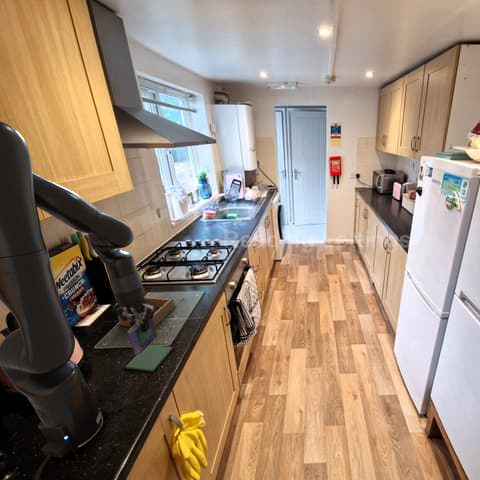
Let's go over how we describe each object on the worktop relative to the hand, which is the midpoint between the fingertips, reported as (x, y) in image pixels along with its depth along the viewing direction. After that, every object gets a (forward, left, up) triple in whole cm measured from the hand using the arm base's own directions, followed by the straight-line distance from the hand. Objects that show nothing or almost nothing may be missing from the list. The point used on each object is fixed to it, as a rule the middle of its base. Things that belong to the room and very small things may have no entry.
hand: (141, 330), depth 87 cm
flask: (0, 0, -6) cm, 6 cm away
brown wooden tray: (+21, +17, -12) cm, 30 cm away
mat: (0, 0, -12) cm, 12 cm away
